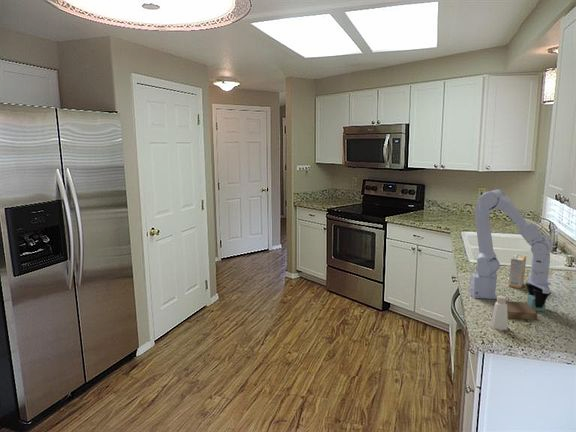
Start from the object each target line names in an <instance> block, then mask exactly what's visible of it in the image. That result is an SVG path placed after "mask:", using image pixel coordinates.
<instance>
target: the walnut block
mask: <svg viewBox="0 0 576 432" xmlns="http://www.w3.org/2000/svg"><path fill="white" fill-rule="evenodd" d="M505 304H507V316H508V319H515V320H516V319H517V320H518V319H519V320H533V321H534V320H535V321H536V320H537V319H538V313H537V311H536V310H533V309H532V308H531V307H530V306H529V305H528V304H527V302H522V301H508V300H506V302H505Z"/></svg>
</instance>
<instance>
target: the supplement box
mask: <svg viewBox="0 0 576 432" xmlns="http://www.w3.org/2000/svg"><path fill="white" fill-rule="evenodd" d="M526 261H527V256H526V255H522V254H514V255H513V256H512V257H511V258H510V266H509V279H508V280H509V282H508V287H509V288H515V289H521V288H522V287H523V285H524V283H525V273H526V265H527V264H526V263H527V262H526Z"/></svg>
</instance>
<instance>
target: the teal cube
mask: <svg viewBox="0 0 576 432" xmlns="http://www.w3.org/2000/svg"><path fill="white" fill-rule="evenodd" d="M546 301H547V300H546ZM546 301H545V303H544V305H543V307H542V308H537V307H536V306H535V295H529V294H528V295H527V302H526V303H527V304H528V305H529V306H530V307H531V308H532V309H533V310H534V311H535V312H537V311H538V312H545V311H546V304H547V302H546Z"/></svg>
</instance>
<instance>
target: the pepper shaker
mask: <svg viewBox="0 0 576 432" xmlns="http://www.w3.org/2000/svg"><path fill="white" fill-rule="evenodd" d="M506 301H507V297H506V296H504V295H497V299H496V302H494V307H493V311H492V315H491V316H492V317H491V319H490V320H491V321H490V327H491V328H492V329H495V330H499V331H507V329H508V328H509V326H508V325H509V324H508V320H509V318H508V316H507V304H505V302H506Z"/></svg>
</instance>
